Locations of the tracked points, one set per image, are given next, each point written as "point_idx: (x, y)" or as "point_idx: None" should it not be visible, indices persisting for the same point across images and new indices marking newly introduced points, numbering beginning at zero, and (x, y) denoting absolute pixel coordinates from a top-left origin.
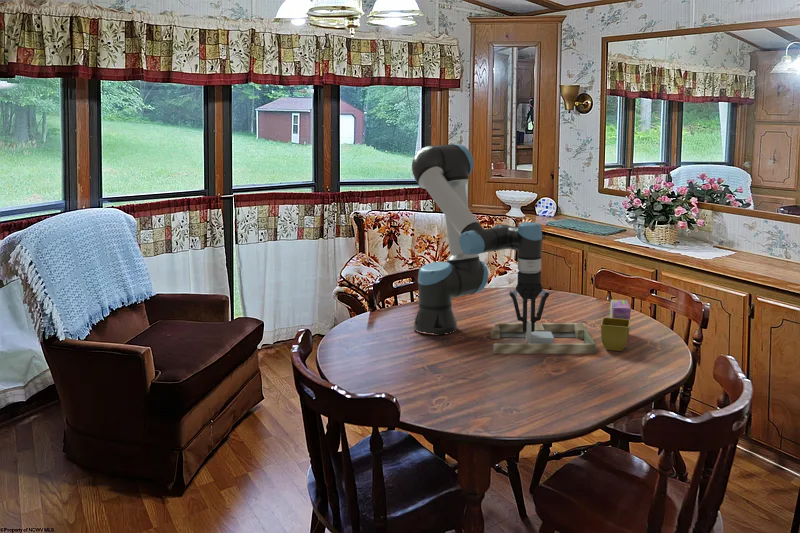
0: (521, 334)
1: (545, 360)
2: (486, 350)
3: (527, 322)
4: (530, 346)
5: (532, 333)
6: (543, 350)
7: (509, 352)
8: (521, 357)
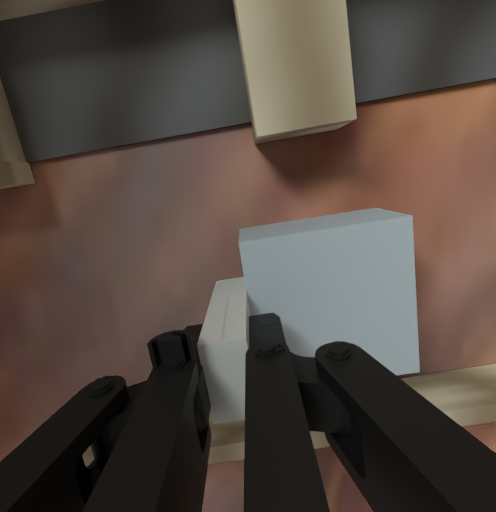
0: (169, 65)
1: (334, 492)
2: (13, 406)
3: (218, 400)
4: None
5: (263, 291)
6: None
7: None
8: (214, 473)
